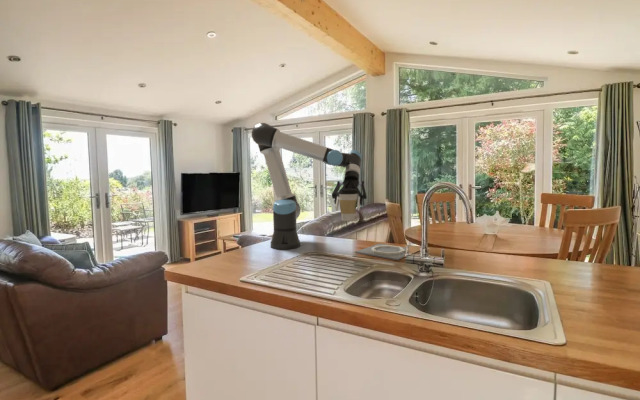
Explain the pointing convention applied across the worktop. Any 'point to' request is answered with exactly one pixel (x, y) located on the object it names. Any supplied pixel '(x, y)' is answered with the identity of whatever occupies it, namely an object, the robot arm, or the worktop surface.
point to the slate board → (384, 251)
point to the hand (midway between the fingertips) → (347, 208)
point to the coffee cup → (348, 203)
